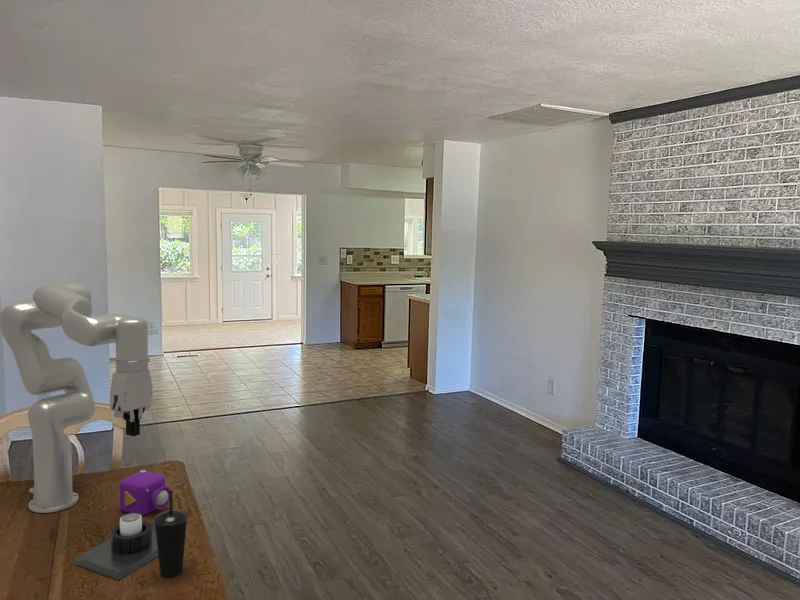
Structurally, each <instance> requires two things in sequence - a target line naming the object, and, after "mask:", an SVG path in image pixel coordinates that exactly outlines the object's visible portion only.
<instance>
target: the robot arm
mask: <svg viewBox="0 0 800 600" xmlns="http://www.w3.org/2000/svg"><path fill="white" fill-rule="evenodd" d="M92 313H93V305H92V294H91V291H90V289H89V288H88V287H87V286H86V285H84V283H81V282H76V281H71V282H53V283H45V284H43V285H40V286H39V287H38V288H37V289H36V290H34V292H33V294H32V300H22V301H16V302H13V303H9V304H7V305H6V306H4V307H3V308H2V310H1V311H0V332H1V335H2V337H3V338H4V340H5V342H6V343H7V345H8V346H9V348H10V350H11V352H12V354H13V356H14V360H15V363H16V365H17V368H18V371H19V374H20V378H21V380H22V383H23V386H24V388H25V391H26V392H27V393H28V394H30V395H32V396H41V395H47V394H52V393H56V392H60V391H64V393H63V394H57V395H52V396H48V397H45V398H41V399H39V400H37V401H34V403H32V404H31V405H30V407H29V408H28V410H27V411H28V412H27V419H28V423H29V427H30V432H31V436H32V437H31V438H32V452H33V453H32V454H33V455H32V456H33V477H34V478H33V481H34V485H33V487H30V488H29V490H28V492H29V493H30V494H32V495H33V498H32V499H30V501H29V502H28V509H29V511H31V512H34V513H37V514H38V513H39V514H47V513H55V512H60V511H63V510H66V509H69V508H71V507H74V506H75V505H76V504H77V503H78V501H79V498H80V497H79V494H78V493H76V492H74V491H73V459H72V455H73V454H72V453H73V452H72V451H73V449H72V441H71V439H70V437H69V436H68V435H67V434H66V433H65V432H64V430H63V429H65V428H69V427H70V426H75V425H78V424H82V423H85V422H87V421H89V420H91V419H92V418H93V417H94V415H95V412H96V405H95V400H94V397H93V393H92V391H91V388H90V385H89V382H88V379H87V376H86V373H85V371H84V368H83V366H82V364H81V363H80V362H79V361H78V360H77V359H75V358H73V357H59V358H55V359H54V358H52V356H51V354H50V352H49V348H48V346H47V344H46V343H45V341H44V340H43V338H41V337H40V336H38V335H37V334H35V333H34V332H32V331H34V330H43V329H50V328H52V329H53V328H58V327H61V328H62V331H63V333H64V334H65V335H66V337H67V338H68V339H70V340H71V341H74V342H76V343H77V344H80V345H83V346H86V347H97V346H103V345H108V344H115V372H113V374H112V377H111V383H110V390H109V409H110V410H111V411H114V412H113V417H114V418H118V419H119V418H121V419H123V421H125V435H126V436H130V437H136V436H140V435H141V427H140V426H141V425H140V424H141V423H140V422H141V420H142V418H143V414H144V413H145V411H146V410H148V409H150V408H151V404H152V403H153V383H152V376H151V370H150V368H149V363H150V362H151V359H150V358H149V351H148V350H149V340H148V339H149V336H148V334H149V333H148V332H149V331H148V329H149V328H148V327H149V326H148V321H147V320H146V318H144V317H137V316H136V317H135V316H131V315H128V314H126V313H116V314H115V313H114V314H113V313H112V314H103V315H94V316H92Z"/></svg>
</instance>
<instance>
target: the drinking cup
mask: <svg viewBox="0 0 800 600" xmlns="http://www.w3.org/2000/svg"><path fill="white" fill-rule="evenodd" d="M173 493H174V492H173V489H172V490H171V489H170V491H169V502H168V506H169V508H168V509H167V510H164V511H162V512H159V513H157V514H156V515H155V516H154V517H153V523H154V524H153V525H155V529H156V538H157V547H158V564H159V566H158V567H159V573H160V576H161V577H163V578H167V579H168V578H169V579H170V578H175V577H177V575H178V576H179V575H180V574H181V573H182V572H183V567H184V566H183V565H184V555H185V545H186V544H185V543H186V535H187V534H186V533H187V524H188V519H189V514H188V512H187V511H185V510H182V509H173V498H174V497H173V496H174V495H173Z"/></svg>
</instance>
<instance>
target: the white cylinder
mask: <svg viewBox="0 0 800 600" xmlns="http://www.w3.org/2000/svg"><path fill="white" fill-rule="evenodd" d="M142 521H143V516H141V515H140V514H137V513H126V514H124V515H122V516H121V517H120V518H119V525H120V535H121V536H133V535H138V534H140V533H142Z"/></svg>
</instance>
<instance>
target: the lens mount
mask: <svg viewBox="0 0 800 600" xmlns="http://www.w3.org/2000/svg"><path fill="white" fill-rule="evenodd" d="M157 557H158V558H159V556H158V547H157V538H156V529H155V524H152V523H150V522H147V521H143V520H142V533H140V534H138V535H133V536H121V535H120V524H119V525H117V526H114V528H113V529H112V530H111V531H110V538H109V539H107V540H106V541H104V542H102V543H99V545H96V546H94V547H93V548H90V549H89V550H87V551H85V552H83V553H81V554H79V555H77V556H76V557H75V560H76V561H75V562H76V563H75V565H76V566H79V567H81V568H84V569H87V570H88V571H89V570H90V571H93V572H95V573H98V574H100V575H103V576H106V577H109V578H112V579H115V580H116V581H120V580H121V579H123V578H125V577H127V576H128V575H130V574H131V573H133V572H134V571H136V570H138V569H140V568H141V567H143V566H145V565H147V564H149V562H151V561H152V560H154V559H156V558H157Z"/></svg>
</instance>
